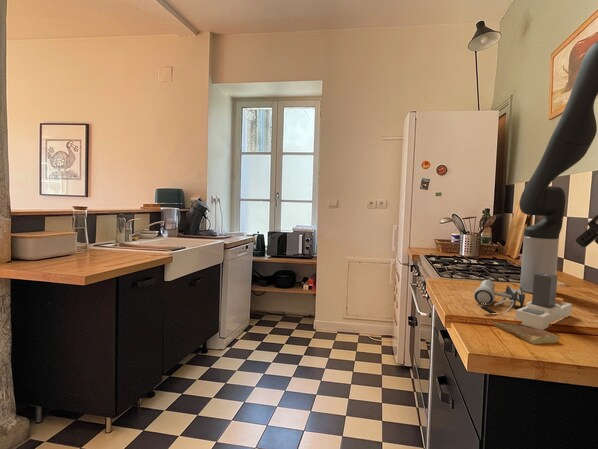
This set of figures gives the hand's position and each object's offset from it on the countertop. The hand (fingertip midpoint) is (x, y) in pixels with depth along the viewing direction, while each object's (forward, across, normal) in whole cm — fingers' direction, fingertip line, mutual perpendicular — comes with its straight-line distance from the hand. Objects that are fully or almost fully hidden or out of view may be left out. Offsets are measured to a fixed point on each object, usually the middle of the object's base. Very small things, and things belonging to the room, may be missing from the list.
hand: (589, 244), depth 78 cm
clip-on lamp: (+28, -1, -2) cm, 28 cm away
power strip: (+20, -4, +5) cm, 21 cm away
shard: (+19, +14, +10) cm, 25 cm away
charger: (+18, -1, +4) cm, 18 cm away
